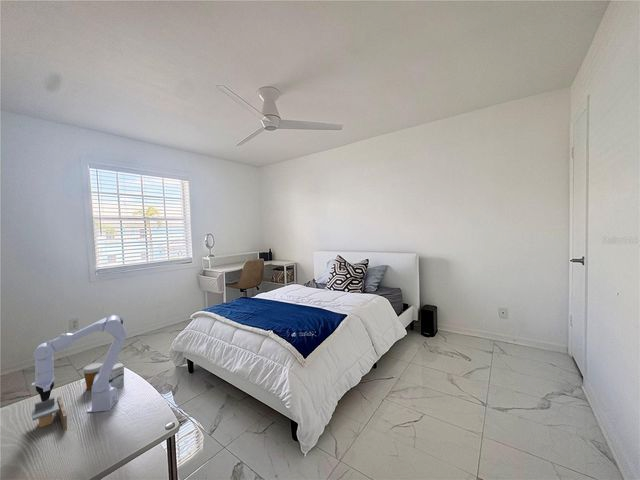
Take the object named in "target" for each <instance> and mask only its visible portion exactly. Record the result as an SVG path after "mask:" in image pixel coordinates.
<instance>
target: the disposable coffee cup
mask: <svg viewBox="0 0 640 480" xmlns="http://www.w3.org/2000/svg"><path fill="white" fill-rule="evenodd" d="M103 363H104V361H94V362H92V363H89V364H87V365H85V366H84V367H83V369H82V372H83V374H84V381H85V387H86V389H87V390H88V391H92V385H93V382H94V377H95V375H96V374H98V373H99V371H100V369H101V367H102V365H103Z"/></svg>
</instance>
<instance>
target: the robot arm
mask: <svg viewBox="0 0 640 480" xmlns="http://www.w3.org/2000/svg"><path fill="white" fill-rule="evenodd" d="M104 331H105V332H107V333H108V334H110V335H111V336H113V340H112V343H111V345H110V347H109V349H108V351H107V354H106V355H105V358H104V361H103V362H104V363H103V365H102V367H101V369H100V371H99V373H98V374H96V375H95V377H94V382H93V385H92V390H91V407H89V409H87V410H86V413H95V412H107V411H109V410H111V409H112V408H113V407H114V405H116V404H117V402H118V401H119V399H118V388H116V387H112V386H111V384H110V383H109V378H110V374H111V371H112V369H113V366H114V365H115V364H116V362H117V360H118V356H119V354H120V352H121V350H122V347H123V345H124V343H125V340H126V338H127V335H128V332H127V328H126V326H125V322H124V319H123V318H122V317H120V315H117V314H112V315H110V316H108V317H103V318H102V319H100V320H98V321H95V322H94V323H93V322H92V324H90V325H87V326H85V327H83V328H82V329H79V330H78V331H75V332H74V333H73V332H72V333H69V332H66V333H61V334H60V335H59V337H56V338H54V339H52V340H47V341H46V342H43V343H40V344H39V345H38V346H37V347H36V348H35V350H34V352H33V353H32V357H33V358H34V360H35V363H34V369H35V370H34V372H35V373H34V374H35V379H34V380H35V382H32V383H31V387H35V391H36V392H37V394H39V397H40V400H41V401H42V402H44V401H47V400H49V398H51V397H50V396H51V394H52V390H53V388H54V387H55V379H56V377H55V360H54V353H58V352H59V351H61V350H64V349H66V348H68V347H70V346H73V345H74V344H75V342H76V340H79V339H81V338H83V337H86V336H88V335H90V334H92V333H95V332H99V333H103V332H104Z"/></svg>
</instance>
